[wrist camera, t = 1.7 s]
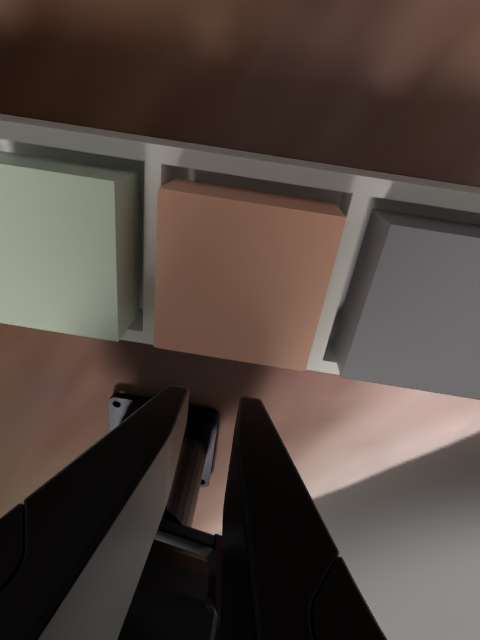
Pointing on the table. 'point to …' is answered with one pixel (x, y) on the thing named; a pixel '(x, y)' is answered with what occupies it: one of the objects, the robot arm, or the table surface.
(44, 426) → the table surface
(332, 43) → the table surface
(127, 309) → the sage key
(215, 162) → the light grey divided tray
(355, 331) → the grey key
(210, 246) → the terracotta key
